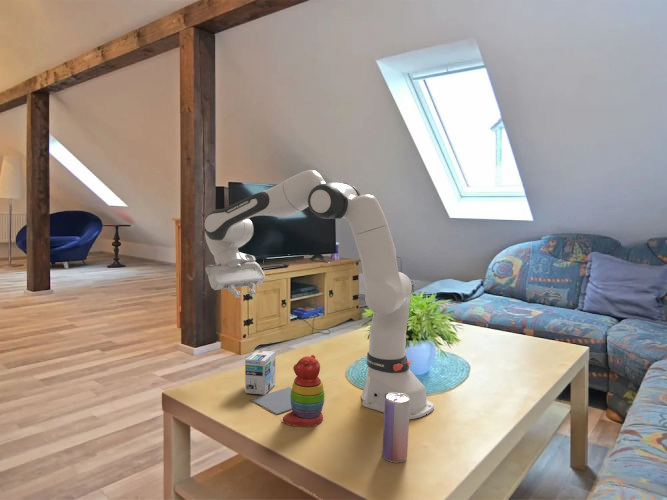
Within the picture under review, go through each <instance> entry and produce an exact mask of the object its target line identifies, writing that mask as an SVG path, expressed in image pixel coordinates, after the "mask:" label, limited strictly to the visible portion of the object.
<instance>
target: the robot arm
mask: <svg viewBox="0 0 667 500" xmlns="http://www.w3.org/2000/svg"><path fill="white" fill-rule="evenodd" d="M305 209H309V210H310V212H311V214H313V215H315V216H316V217H318V218H320V219H325V220H327V219H328V220H331V219H333V220H336V219H337V220H338V219H345V220H346V221H347V223H348V224H349V227H350V229H351V232H352V236H353V239H354V242H355V246H356V249H357V253H358V256H359V259H360V263H361V269H362V277H363V278H362V279H363V284H364V285H363V286H364V290H365V291H364V293H365V295H364V299H365V304H366V306H367V308H369V310H370V311H371V312H373V314H372V319H371V322H370V327H369V339H368V341H369V342H368V352H367V355H366V365H367V370H366V371H367V372H366V375H365V376H366V377H365V382H364V386H363V390H362V393H361V396H360V397H361V399H362V406H363V407H365V408H368V409H371V410H373V411H374V410H375V411H376V412H377V411H378V412H381V413H384V406H385V399H386V395H387V394H389V393H402V394H405V395H407V396H408V397H409V401H410V414H409V420H414V419H415V420H416V419H418V418H422V417H424V416H427V415H429V414H430V413H432V412H433V411H434V408H435V405H434V403H433V402H431V401H429V400H428V399H427V391H426V390H427V389H426V387H425V385H424V384H423V383H422V382H421V381H420V380H419V378H418V377H417V376H416V375H415V374H414V373H413V372H412V371H411V369H410V365H412V364H413V363H412V362H413V360H408V359H407V358H408V357H407V354H406V344H407V343H406V341H407V328H408V323H409V315H410V308H411V301H412V292H413V285H412V281H411V279H410V278H409V276H408V275H407V274H405V273H403V272H400V271H399V266H398V261H397V249H396V245H395V243H394V238H393V236H392V233H391V229H390V226H389V223H388V220H387V217H386V216H385V212H384V211H383V208H382V207H381V204H380V202H379V201H378V199H377V197H376V196H374V195H371V194H361V193H360V191H359V189H357V188H356V187H355V186H353V185H352V184H350V183H346V182H336V181H334V182H333V181H332V182H326V181H325V179H324V178H323V176H322V175H321V174H320V173H319V172H318V171H316V170H313V169H308V170H304V171H302V172H299V173H297V174H295V175H293V176H291V177H289V178H287V179H285V180H284V181H283V182H280V183H278V184H277V185H275V186H272V187H270V188H268V189H265V190H262V191H260V192H257V193H254V194H252V195H248V196H247V197H245V198H243V199H241V200H239V201H236V202H234V203H233V204H231V205H229V206H227V207H225V208H217V209H212V210H211V211H210V212H209V213H208V214H207V215H206V216H205V217H204V218H205V219H204V220H203V230H204V237H205V241H206V245H207V247H208V249H209V251H210V253H211V254H212V256H213V258H214V261H215V264H208V265H207V266H205V268H204V270H205V273H206V275H207V278H208V281H209V284H210V287H211V289H213V290H214V291H219V290H228V292H230V293H231V294H232V295H233V296H234V299H240V298H241V297H242V293H241V291H240V290H237V289H236V288H242V287H248V289H249V291H248V294H249V297H253V296H255V295H256V294H257V292H256V290H255V286H259V285H262V284H263V283H264V281H265V280H266V275H265V273H264V270H263V269H262V267H261V266H260V264H259V263H258V262H256V257H255V255H251V254H247V253H243V252H241V251H239V249H240V248H242V247H243V246H245V245H246V244H247V243H249V241H251V239H252V238H253V236H254V234H255V232H254V231H255V228H254V227H255V226H254V224H253V221H252V220H251V219H250V218H253V217H259V216H261V217H262V216H267V217H276V218H277V217H278V218H287V217H290V216H291V217H292V216H294V215H296V214H298V213H300V212H302V211H304V210H305ZM426 414H427V415H426Z"/></svg>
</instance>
